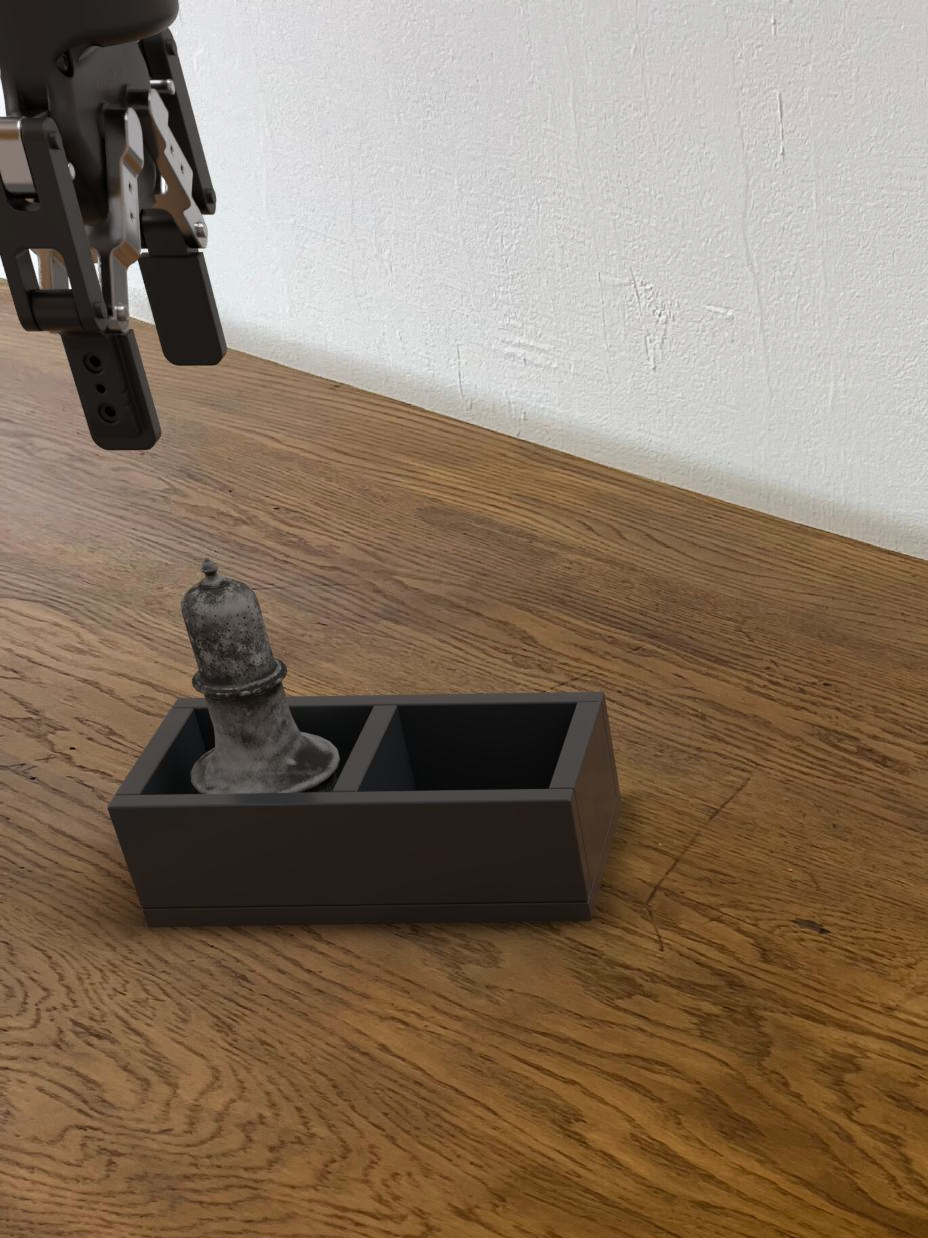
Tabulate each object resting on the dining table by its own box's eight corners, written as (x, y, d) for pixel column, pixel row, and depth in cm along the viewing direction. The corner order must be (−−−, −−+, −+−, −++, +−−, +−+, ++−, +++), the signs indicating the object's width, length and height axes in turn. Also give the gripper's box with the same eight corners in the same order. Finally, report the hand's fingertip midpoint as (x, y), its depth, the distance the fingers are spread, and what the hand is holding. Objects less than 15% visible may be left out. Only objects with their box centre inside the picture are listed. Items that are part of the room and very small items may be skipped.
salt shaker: (202, 830, 87) (112, 545, 79) (340, 797, 89) (267, 517, 81) (230, 893, 83) (140, 601, 75) (375, 858, 85) (302, 570, 77)
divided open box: (592, 924, 84) (570, 799, 80) (148, 930, 84) (105, 806, 80) (623, 810, 91) (604, 690, 87) (213, 816, 91) (177, 697, 87)
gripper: (-28, -183, 68) (121, 339, 80) (-208, -110, 58) (-8, 479, 69) (199, -184, 68) (316, 338, 80) (60, -111, 58) (216, 477, 69)
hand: (165, 403), depth 74 cm, fingers open, 8 cm apart
